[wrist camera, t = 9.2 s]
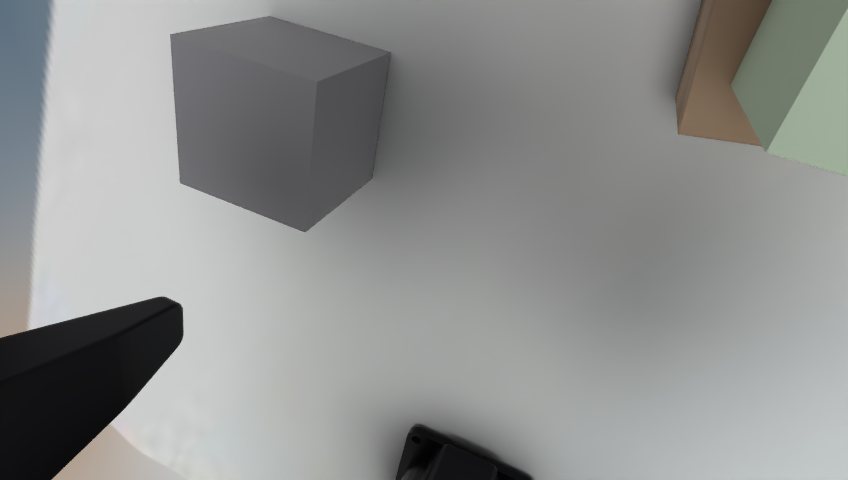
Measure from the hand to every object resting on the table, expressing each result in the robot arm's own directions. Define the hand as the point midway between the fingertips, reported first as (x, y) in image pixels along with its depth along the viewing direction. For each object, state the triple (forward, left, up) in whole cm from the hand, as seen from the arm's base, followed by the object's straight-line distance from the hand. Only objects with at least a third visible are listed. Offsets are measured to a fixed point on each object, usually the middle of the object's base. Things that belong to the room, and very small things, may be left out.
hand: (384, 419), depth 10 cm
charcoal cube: (+1, +8, -12) cm, 14 cm away
